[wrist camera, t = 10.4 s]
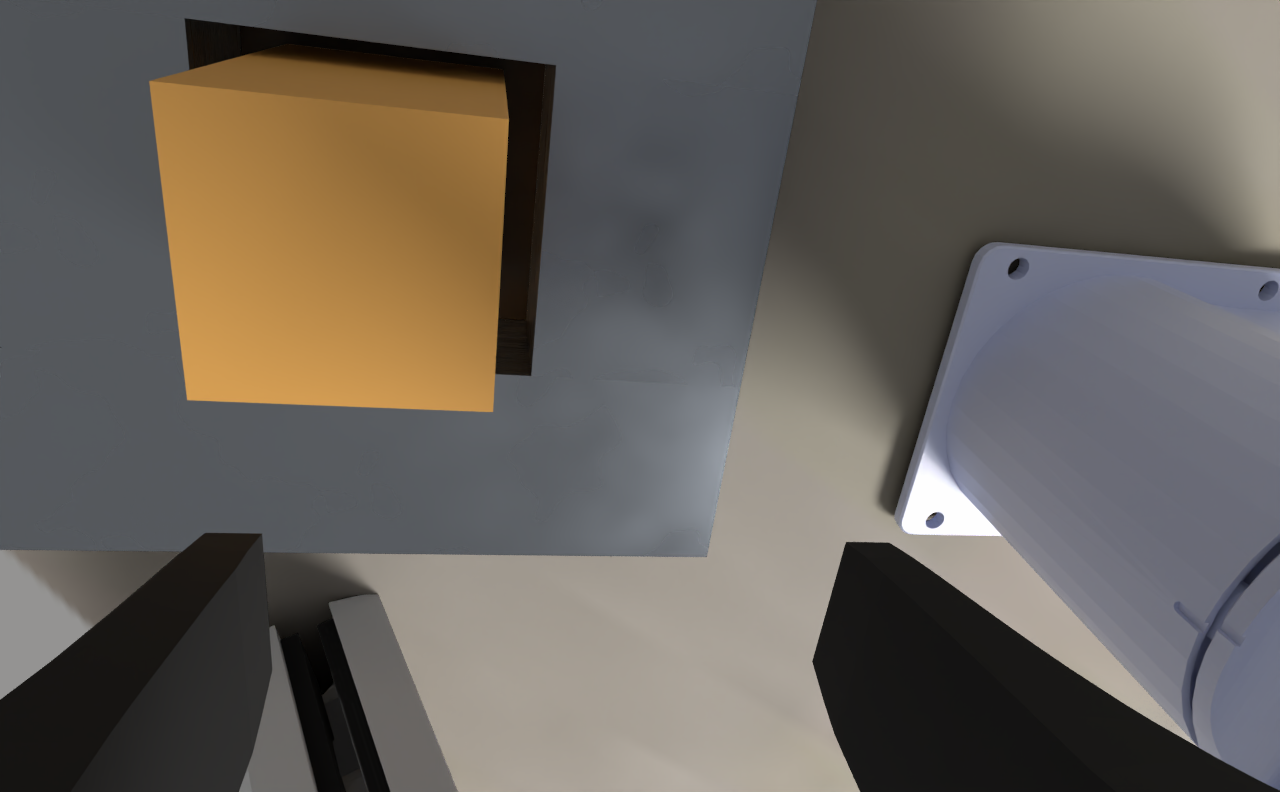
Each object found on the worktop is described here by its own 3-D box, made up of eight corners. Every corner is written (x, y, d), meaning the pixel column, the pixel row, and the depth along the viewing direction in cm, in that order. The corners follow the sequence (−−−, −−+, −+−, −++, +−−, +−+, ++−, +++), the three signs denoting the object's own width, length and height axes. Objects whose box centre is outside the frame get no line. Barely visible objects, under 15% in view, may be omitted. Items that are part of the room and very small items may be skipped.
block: (503, 69, 16) (508, 118, 10) (493, 265, 18) (492, 412, 12) (287, 43, 16) (148, 80, 9) (298, 251, 17) (187, 400, 11)
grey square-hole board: (792, -163, 15) (855, -194, 13) (679, 485, 21) (706, 557, 19) (-81, -329, 13) (-235, -415, 10) (68, 468, 18) (-3, 549, 16)
